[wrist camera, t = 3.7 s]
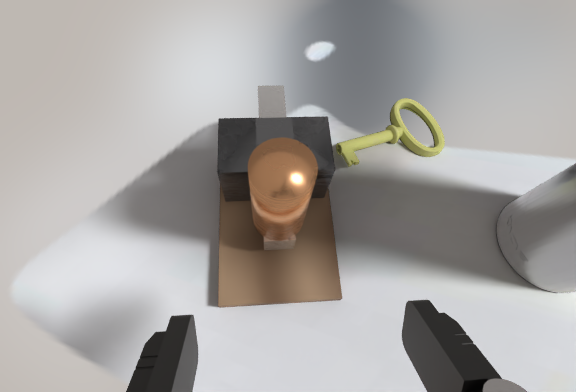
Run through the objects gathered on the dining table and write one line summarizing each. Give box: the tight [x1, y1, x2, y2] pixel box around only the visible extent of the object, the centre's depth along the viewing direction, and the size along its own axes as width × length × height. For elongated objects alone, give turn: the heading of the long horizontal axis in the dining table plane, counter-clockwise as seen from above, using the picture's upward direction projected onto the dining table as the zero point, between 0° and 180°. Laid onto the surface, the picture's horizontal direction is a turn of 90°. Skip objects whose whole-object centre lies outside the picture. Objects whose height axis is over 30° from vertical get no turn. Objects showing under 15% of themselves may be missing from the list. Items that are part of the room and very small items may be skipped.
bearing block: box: [218, 117, 335, 202], centre depth 30 cm, size 9×5×6 cm, turn 94°
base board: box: [218, 183, 342, 307], centre depth 31 cm, size 10×14×1 cm
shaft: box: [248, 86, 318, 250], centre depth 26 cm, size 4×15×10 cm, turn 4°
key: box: [336, 98, 444, 167], centre depth 35 cm, size 7×12×2 cm, turn 131°
